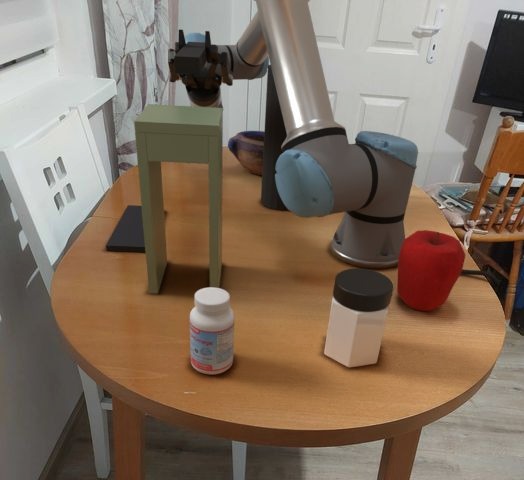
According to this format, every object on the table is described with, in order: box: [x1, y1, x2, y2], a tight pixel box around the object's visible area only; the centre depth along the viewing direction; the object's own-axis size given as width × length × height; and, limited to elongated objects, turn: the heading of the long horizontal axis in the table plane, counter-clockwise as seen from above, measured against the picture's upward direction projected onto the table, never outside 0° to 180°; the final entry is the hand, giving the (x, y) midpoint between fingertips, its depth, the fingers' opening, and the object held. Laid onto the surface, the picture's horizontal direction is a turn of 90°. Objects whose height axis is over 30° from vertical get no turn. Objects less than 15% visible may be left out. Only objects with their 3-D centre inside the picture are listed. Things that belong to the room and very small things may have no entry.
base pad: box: [105, 204, 146, 253], centre depth 111 cm, size 22×8×1 cm, turn 1°
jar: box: [323, 267, 394, 369], centre depth 75 cm, size 9×8×12 cm
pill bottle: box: [189, 286, 235, 375], centre depth 71 cm, size 6×6×11 cm
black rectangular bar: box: [174, 42, 207, 75], centre depth 92 cm, size 22×4×2 cm, turn 1°
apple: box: [396, 229, 466, 312], centre depth 87 cm, size 11×10×14 cm
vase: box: [260, 63, 289, 211], centre depth 120 cm, size 10×10×30 cm
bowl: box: [227, 130, 265, 176], centre depth 146 cm, size 18×18×10 cm
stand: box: [133, 103, 224, 295], centre depth 87 cm, size 12×12×28 cm
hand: (193, 38), depth 92 cm, fingers closed on black rectangular bar, 4 cm apart
